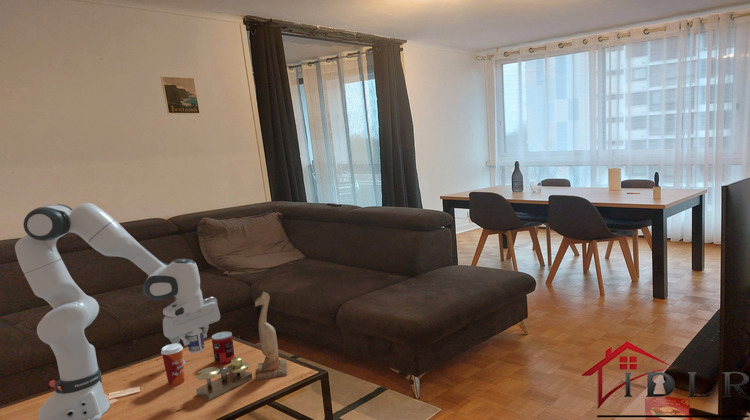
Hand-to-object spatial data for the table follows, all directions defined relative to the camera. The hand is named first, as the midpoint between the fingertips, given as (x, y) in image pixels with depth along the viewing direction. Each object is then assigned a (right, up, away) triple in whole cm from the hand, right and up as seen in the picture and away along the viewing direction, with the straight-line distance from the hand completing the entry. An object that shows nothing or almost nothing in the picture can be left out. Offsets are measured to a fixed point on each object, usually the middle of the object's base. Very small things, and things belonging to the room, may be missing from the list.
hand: (195, 341), depth 173 cm
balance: (+9, -18, +4) cm, 20 cm away
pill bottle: (0, -4, 0) cm, 4 cm away
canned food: (+2, -15, +26) cm, 31 cm away
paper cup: (-11, -19, +11) cm, 24 cm away
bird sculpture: (+25, -15, +13) cm, 32 cm away
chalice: (-17, -17, +27) cm, 36 cm away
